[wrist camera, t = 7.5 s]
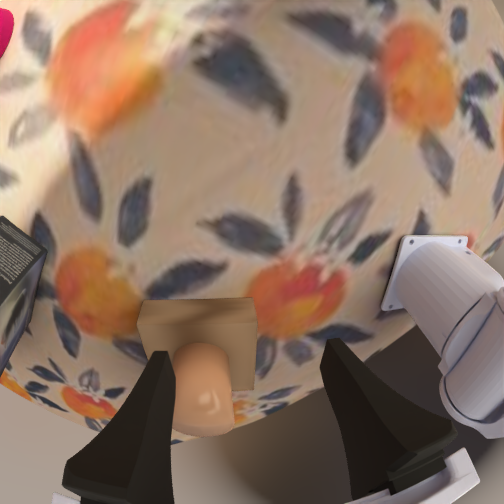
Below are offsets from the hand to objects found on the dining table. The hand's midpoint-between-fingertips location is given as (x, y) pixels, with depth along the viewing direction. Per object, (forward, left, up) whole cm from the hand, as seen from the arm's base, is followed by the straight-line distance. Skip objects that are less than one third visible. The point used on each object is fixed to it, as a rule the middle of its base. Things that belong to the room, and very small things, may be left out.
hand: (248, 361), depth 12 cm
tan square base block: (+3, +8, -10) cm, 13 cm away
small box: (+21, +1, -10) cm, 23 cm away
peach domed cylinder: (+3, +8, -7) cm, 11 cm away
